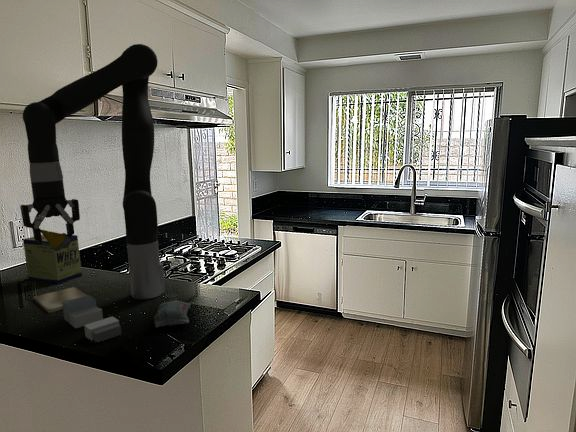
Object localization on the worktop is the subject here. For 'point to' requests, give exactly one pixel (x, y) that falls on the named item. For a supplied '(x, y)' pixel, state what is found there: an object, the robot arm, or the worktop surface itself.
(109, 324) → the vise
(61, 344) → the worktop surface
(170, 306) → the packaged food
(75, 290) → the birch board
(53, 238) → the yellow tapered piece
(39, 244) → the protein box
